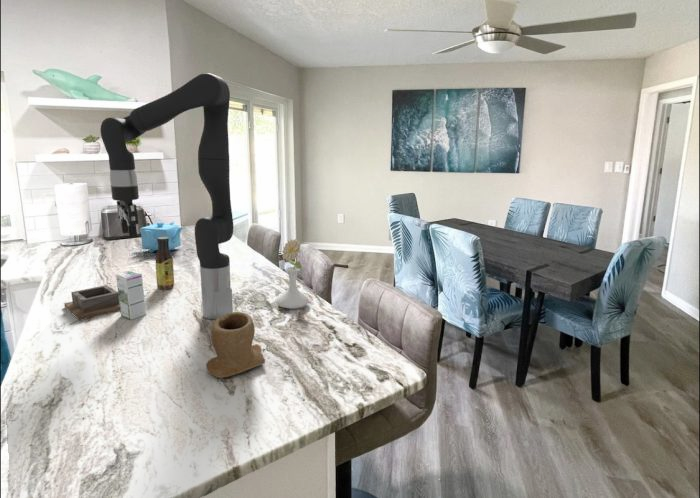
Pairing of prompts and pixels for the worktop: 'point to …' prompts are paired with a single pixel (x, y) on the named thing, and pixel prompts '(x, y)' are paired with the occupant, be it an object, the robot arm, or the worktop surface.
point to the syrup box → (131, 294)
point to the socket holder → (93, 302)
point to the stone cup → (233, 345)
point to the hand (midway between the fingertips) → (129, 234)
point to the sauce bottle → (164, 265)
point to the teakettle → (160, 235)
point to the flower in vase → (292, 279)
